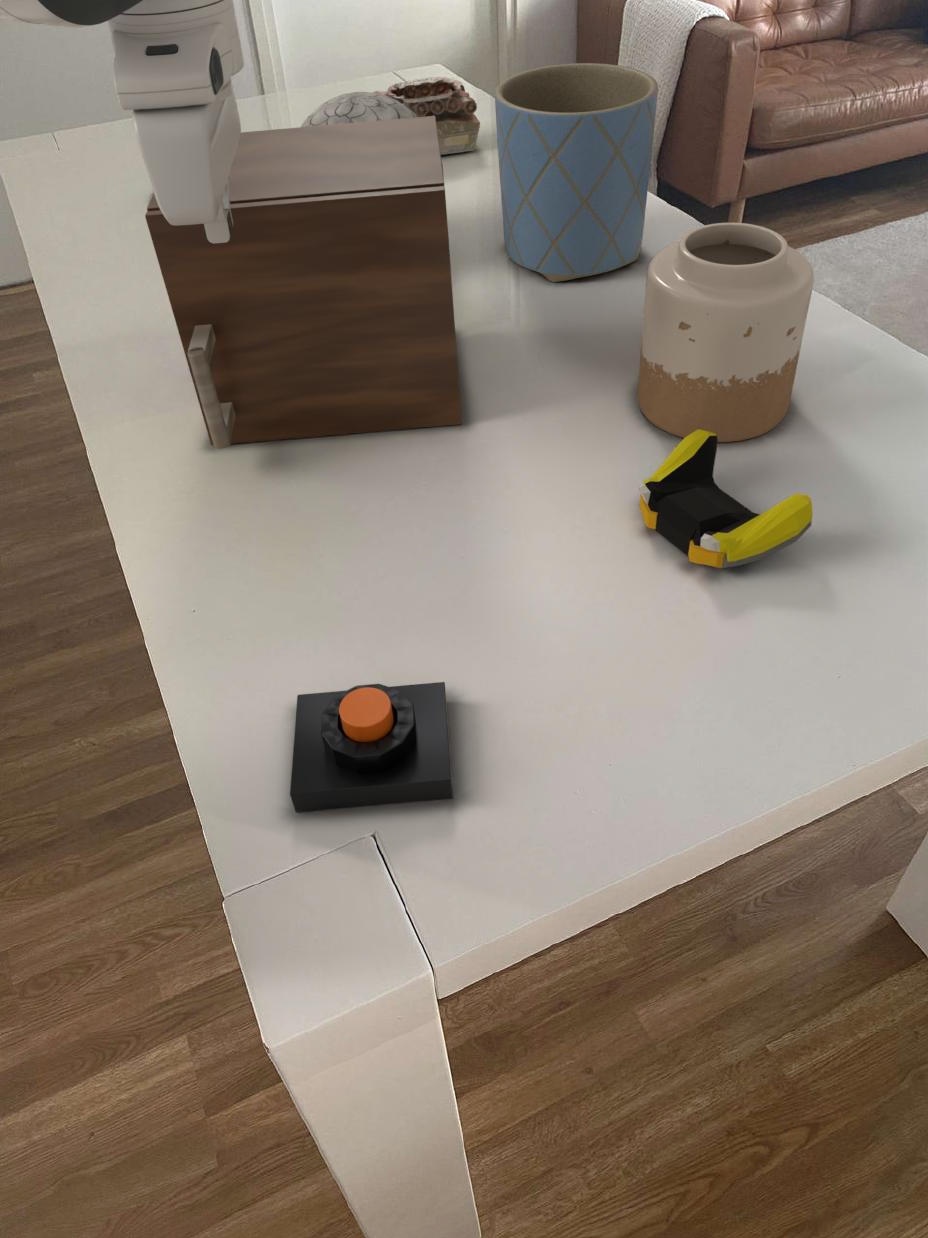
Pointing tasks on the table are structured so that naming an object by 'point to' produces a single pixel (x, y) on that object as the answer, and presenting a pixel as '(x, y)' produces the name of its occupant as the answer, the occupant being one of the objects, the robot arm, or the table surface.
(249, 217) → the cupboard door
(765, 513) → the gaming controller
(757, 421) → the vase
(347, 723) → the button
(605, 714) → the table surface
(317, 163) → the cupboard
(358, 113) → the decorative sphere
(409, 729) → the control block
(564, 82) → the planter
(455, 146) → the tank model
